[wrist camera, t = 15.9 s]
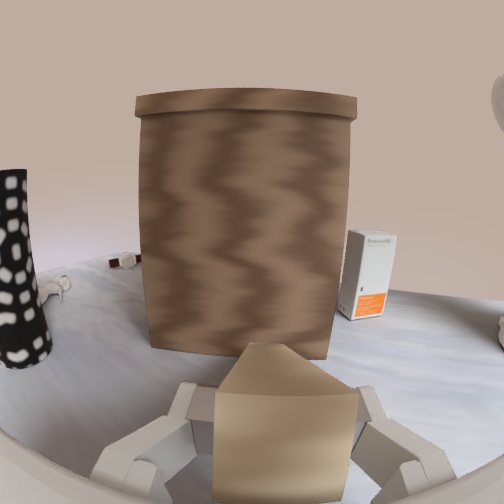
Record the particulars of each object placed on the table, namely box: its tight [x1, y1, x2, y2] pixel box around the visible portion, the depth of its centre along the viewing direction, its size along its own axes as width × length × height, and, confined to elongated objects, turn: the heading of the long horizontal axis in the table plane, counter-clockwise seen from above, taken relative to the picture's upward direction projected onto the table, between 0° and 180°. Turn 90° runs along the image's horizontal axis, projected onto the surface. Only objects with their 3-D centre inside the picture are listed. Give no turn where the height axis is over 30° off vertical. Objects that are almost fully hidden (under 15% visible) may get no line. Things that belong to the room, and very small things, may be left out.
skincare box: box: [337, 230, 397, 320], centre depth 37 cm, size 6×4×12 cm
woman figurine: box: [38, 275, 71, 304], centre depth 33 cm, size 12×4×18 cm
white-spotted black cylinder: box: [0, 169, 52, 369], centre depth 20 cm, size 8×8×20 cm
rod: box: [213, 343, 359, 504], centre depth 14 cm, size 3×20×3 cm, turn 177°
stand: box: [135, 88, 357, 360], centre depth 33 cm, size 20×18×26 cm
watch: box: [109, 252, 141, 269], centre depth 55 cm, size 8×5×4 cm, turn 133°
